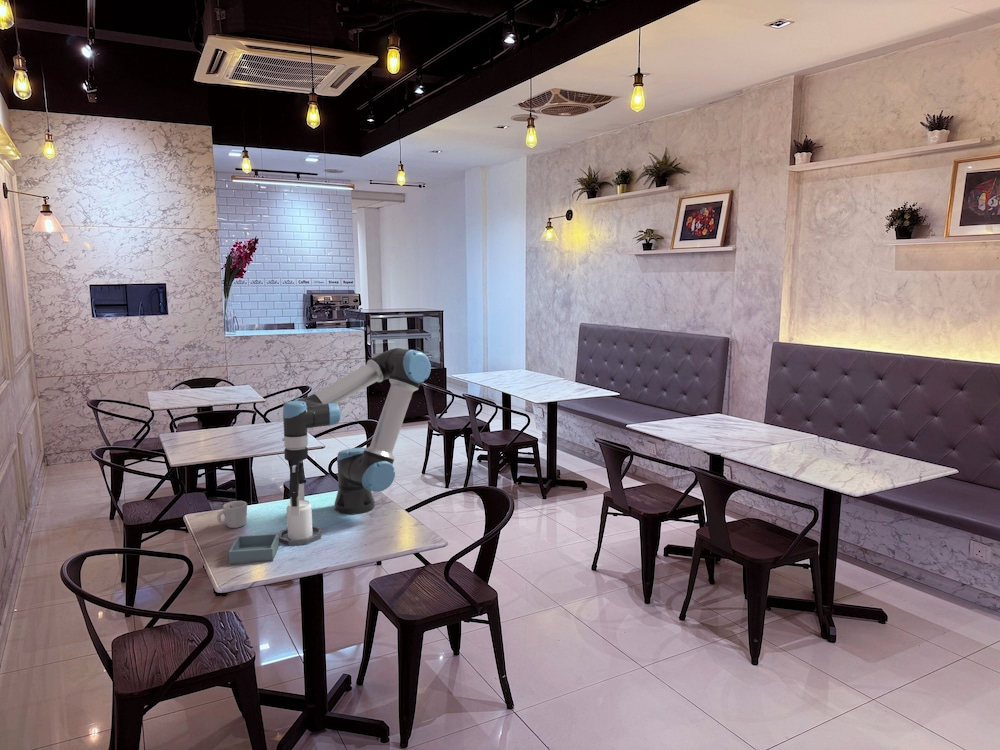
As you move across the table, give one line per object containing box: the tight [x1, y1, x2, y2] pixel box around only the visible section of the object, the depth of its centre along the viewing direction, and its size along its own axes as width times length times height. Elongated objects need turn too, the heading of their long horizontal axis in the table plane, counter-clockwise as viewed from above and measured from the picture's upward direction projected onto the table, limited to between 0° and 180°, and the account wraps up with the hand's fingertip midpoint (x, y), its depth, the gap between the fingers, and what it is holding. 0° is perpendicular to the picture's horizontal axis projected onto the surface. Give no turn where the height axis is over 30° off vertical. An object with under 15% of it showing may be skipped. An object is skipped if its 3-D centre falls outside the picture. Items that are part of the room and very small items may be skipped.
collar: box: [278, 524, 323, 546], centre depth 228 cm, size 14×14×2 cm
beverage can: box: [286, 499, 314, 540], centre depth 228 cm, size 8×8×12 cm
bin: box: [228, 533, 280, 565], centre depth 214 cm, size 13×13×4 cm
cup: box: [216, 500, 248, 529], centre depth 237 cm, size 11×8×8 cm
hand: (297, 508), depth 227 cm, fingers open, 13 cm apart
